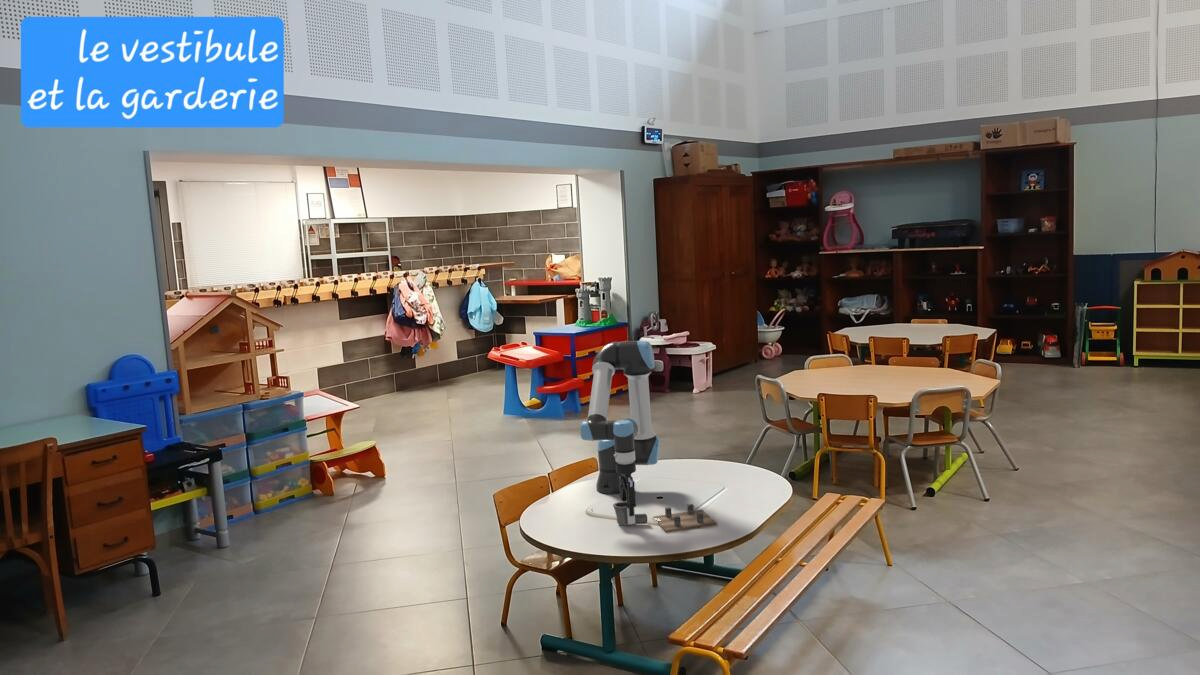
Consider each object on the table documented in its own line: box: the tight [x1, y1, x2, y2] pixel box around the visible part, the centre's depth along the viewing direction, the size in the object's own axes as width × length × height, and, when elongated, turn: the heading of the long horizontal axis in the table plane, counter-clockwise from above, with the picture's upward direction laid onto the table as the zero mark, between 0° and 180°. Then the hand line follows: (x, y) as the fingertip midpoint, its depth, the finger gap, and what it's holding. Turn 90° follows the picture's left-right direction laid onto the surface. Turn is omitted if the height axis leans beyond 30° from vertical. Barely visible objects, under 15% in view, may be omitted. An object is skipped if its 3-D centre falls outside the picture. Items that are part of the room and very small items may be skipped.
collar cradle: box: [652, 503, 718, 533], centre depth 325 cm, size 16×20×4 cm
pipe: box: [612, 501, 648, 526], centre depth 325 cm, size 6×13×8 cm, turn 79°
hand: (629, 520), depth 326 cm, fingers closed on pipe, 6 cm apart
